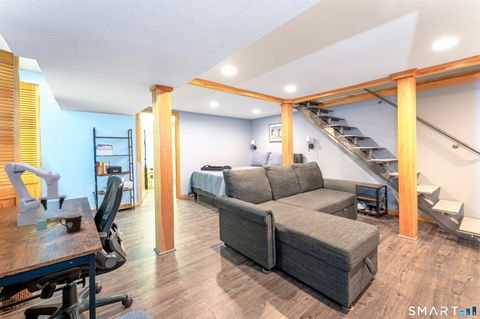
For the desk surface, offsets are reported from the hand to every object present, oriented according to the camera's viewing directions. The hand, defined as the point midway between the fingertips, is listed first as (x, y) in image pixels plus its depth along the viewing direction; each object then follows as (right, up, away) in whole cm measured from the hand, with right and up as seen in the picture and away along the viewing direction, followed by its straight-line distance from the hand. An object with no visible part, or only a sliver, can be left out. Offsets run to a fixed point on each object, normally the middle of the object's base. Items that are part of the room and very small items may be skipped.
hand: (53, 209), depth 143 cm
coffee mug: (+24, -11, -13) cm, 30 cm away
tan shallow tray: (+3, -10, -1) cm, 11 cm away
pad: (+4, -10, -12) cm, 17 cm away
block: (+4, -10, -12) cm, 16 cm away
